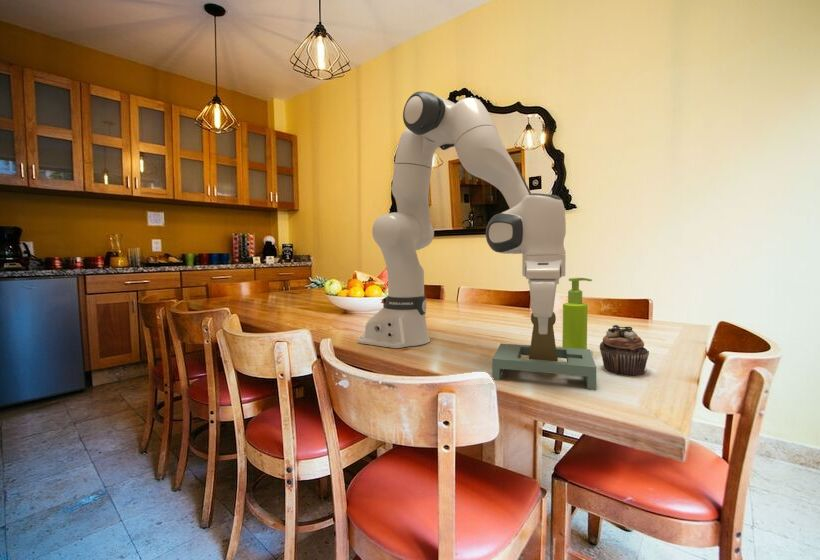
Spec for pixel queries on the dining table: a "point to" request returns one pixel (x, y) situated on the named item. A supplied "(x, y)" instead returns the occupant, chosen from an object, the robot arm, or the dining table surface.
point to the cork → (543, 341)
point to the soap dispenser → (575, 318)
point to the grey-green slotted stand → (545, 362)
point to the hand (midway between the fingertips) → (543, 331)
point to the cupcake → (623, 352)
